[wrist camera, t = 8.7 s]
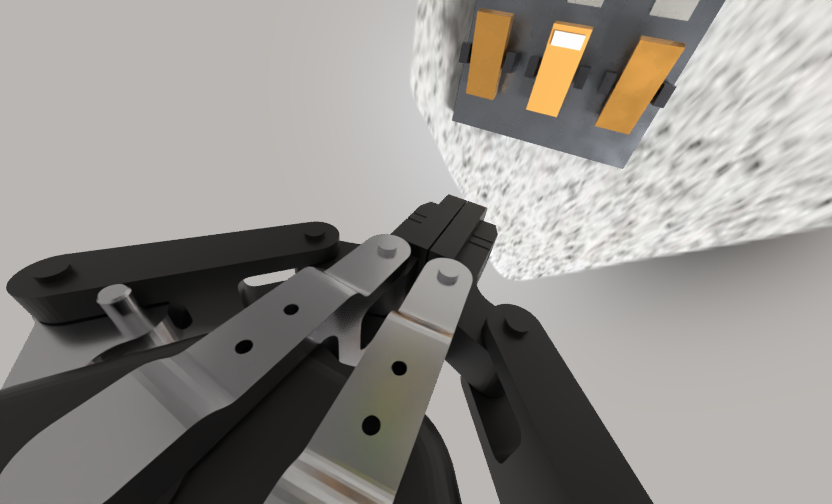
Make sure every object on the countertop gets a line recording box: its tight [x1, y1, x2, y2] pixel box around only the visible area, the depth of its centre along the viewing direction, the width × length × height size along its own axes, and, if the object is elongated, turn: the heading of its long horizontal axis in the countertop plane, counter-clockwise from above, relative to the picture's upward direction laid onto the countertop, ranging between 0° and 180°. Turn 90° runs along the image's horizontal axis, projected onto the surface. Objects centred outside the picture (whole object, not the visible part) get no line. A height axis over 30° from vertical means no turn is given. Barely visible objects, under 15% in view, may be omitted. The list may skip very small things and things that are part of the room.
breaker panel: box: [452, 0, 725, 169], centre depth 28 cm, size 19×14×6 cm
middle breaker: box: [526, 20, 594, 117], centre depth 27 cm, size 3×7×1 cm, turn 171°
